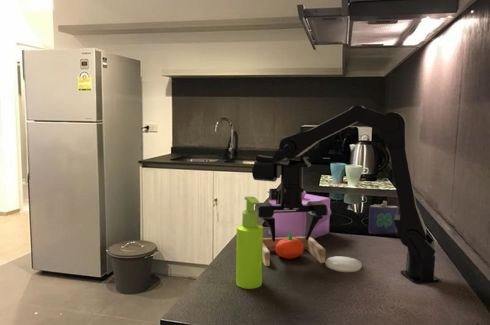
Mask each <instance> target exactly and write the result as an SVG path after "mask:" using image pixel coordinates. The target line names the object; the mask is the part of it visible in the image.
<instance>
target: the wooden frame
mask: <svg viewBox="0 0 490 325" xmlns="http://www.w3.org/2000/svg"><path fill="white" fill-rule="evenodd" d="M286 238H288V237H275V242H273V241H272V238H271V237H263V252H262V265H264V266H265V267H268V266H269V267H270V265H271V264H270V263H271V262H270V261H271V252H276V250H275V248H276V245H277V243H278V242H279V241H280V240H282V239H286ZM292 238H296V239H298V240H300V241H301V242H302V243H303V249H304V250H305V251H306V250H307V251H308V252H309V253H310V254H311V255H312V256H313V257H314V258H315V259H316V260H317V261H318V262H319V263H320V264H325V263H326V248H324V247H323V246H322V245H321V244H319V242H317V240H315V239H313V238H312V237H309V239H308V240H306V239H305V236H303V237H292ZM304 250H303V251H304Z"/></svg>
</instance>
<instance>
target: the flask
mask: <svg viewBox="0 0 490 325" xmlns="http://www.w3.org/2000/svg"><path fill="white" fill-rule="evenodd" d="M368 210H369V211H368V212H369V214H368V233H369V234H374V235H375V234H376V235H377V234H378V235H394V234H395V235H397V228H396V226H395V223H394V219H395V215H399V206H396V205H388V202H387V200H383V201H382V203H381V204H376V203H375V204H373V205H372V204H371V205H369V209H368Z"/></svg>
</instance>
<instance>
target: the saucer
mask: <svg viewBox="0 0 490 325" xmlns="http://www.w3.org/2000/svg"><path fill="white" fill-rule="evenodd" d="M324 264H325V266H326V268H328V269H330V270H332V271H336V272H342V273H355V272H358V271H360V270H361V269H362V266H363V265H362V262H361V261H360V260H359V259H357V258H353V257H349V256H337V255H336V256H330V257H328V258H325V263H324Z"/></svg>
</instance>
